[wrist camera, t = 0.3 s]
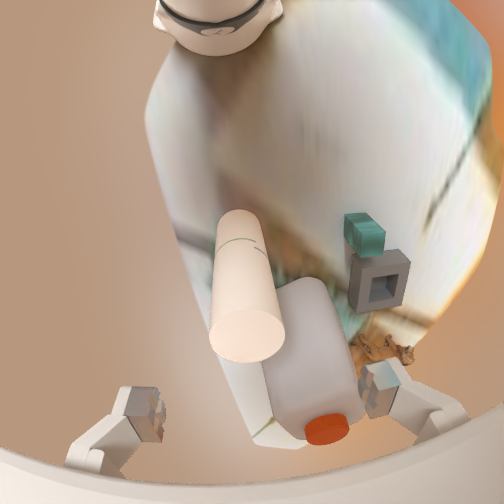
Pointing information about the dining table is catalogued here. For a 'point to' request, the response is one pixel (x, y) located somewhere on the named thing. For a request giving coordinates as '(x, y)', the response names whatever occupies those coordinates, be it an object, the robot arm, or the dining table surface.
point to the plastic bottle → (312, 367)
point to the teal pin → (364, 234)
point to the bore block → (378, 281)
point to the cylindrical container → (243, 293)
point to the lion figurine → (386, 351)
